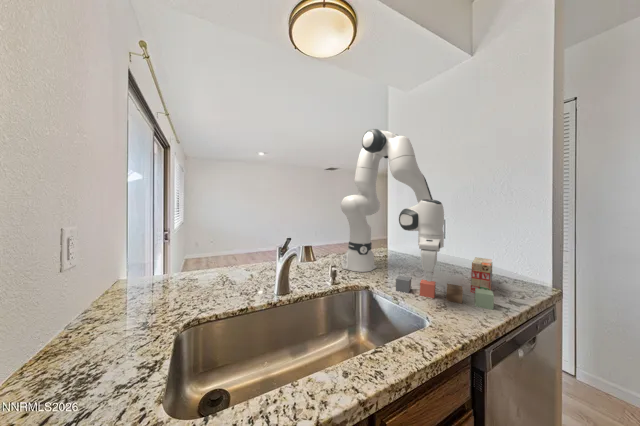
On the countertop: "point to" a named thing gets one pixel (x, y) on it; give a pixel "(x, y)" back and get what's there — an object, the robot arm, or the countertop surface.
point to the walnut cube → (454, 293)
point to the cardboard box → (481, 274)
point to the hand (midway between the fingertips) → (430, 277)
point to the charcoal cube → (403, 284)
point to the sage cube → (484, 298)
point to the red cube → (427, 288)
